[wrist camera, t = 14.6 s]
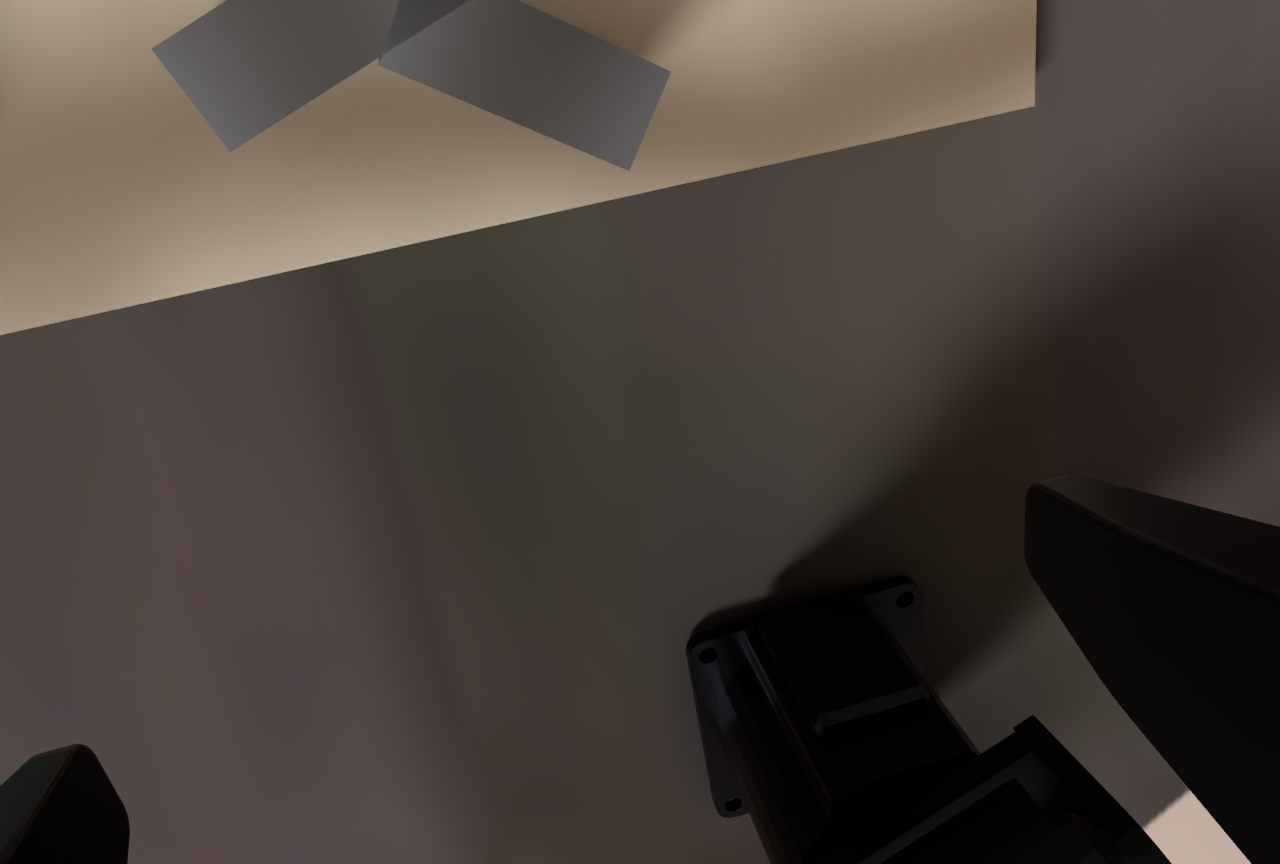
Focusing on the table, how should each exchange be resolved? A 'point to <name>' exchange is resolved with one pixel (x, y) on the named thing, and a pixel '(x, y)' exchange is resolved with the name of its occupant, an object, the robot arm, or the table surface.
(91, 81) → the board
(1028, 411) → the table surface
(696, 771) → the table surface
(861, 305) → the table surface
